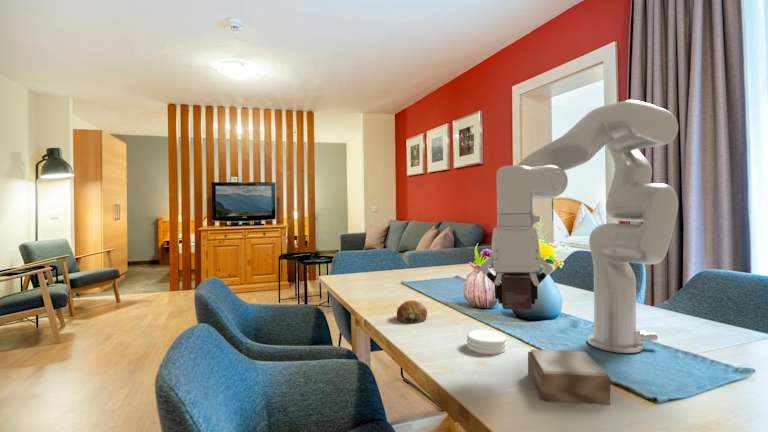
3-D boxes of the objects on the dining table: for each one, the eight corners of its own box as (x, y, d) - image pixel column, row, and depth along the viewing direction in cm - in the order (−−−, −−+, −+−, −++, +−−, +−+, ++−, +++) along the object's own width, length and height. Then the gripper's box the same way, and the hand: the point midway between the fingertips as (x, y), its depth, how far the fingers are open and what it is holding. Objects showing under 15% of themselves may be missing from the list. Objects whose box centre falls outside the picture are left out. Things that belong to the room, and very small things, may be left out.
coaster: (459, 345, 107) (459, 331, 107) (490, 339, 111) (490, 327, 111) (482, 358, 98) (482, 343, 98) (515, 352, 101) (515, 338, 101)
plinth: (586, 376, 86) (586, 350, 86) (610, 404, 74) (610, 374, 74) (528, 374, 87) (527, 348, 87) (542, 400, 75) (541, 371, 75)
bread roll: (429, 330, 132) (434, 305, 134) (416, 324, 124) (421, 298, 126) (403, 325, 137) (408, 302, 140) (389, 319, 129) (394, 295, 132)
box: (531, 311, 86) (531, 276, 86) (502, 310, 87) (502, 276, 87) (528, 304, 92) (528, 272, 92) (501, 303, 93) (500, 271, 93)
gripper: (551, 220, 91) (552, 299, 92) (473, 221, 94) (475, 297, 95) (560, 222, 84) (561, 307, 84) (475, 223, 87) (477, 305, 87)
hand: (515, 301), depth 90 cm, fingers closed on box, 6 cm apart
